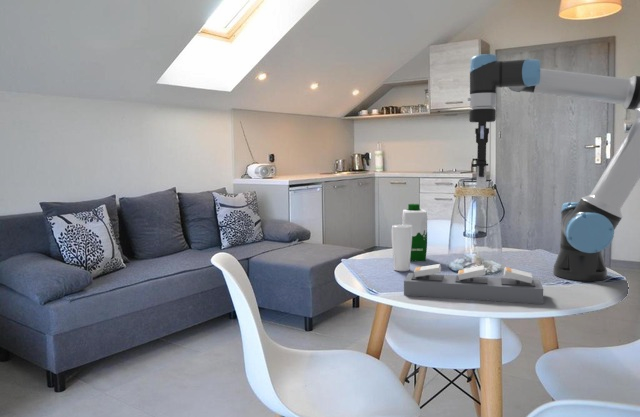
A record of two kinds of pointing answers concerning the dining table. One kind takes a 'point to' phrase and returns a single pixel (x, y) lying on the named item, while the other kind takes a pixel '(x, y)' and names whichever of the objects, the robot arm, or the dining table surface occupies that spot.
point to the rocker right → (518, 275)
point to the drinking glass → (401, 246)
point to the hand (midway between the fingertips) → (481, 187)
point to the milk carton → (417, 231)
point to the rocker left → (427, 270)
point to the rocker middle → (471, 272)
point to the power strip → (474, 288)
